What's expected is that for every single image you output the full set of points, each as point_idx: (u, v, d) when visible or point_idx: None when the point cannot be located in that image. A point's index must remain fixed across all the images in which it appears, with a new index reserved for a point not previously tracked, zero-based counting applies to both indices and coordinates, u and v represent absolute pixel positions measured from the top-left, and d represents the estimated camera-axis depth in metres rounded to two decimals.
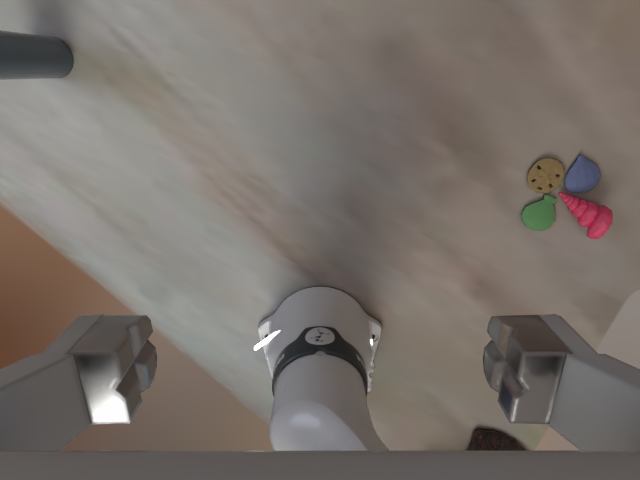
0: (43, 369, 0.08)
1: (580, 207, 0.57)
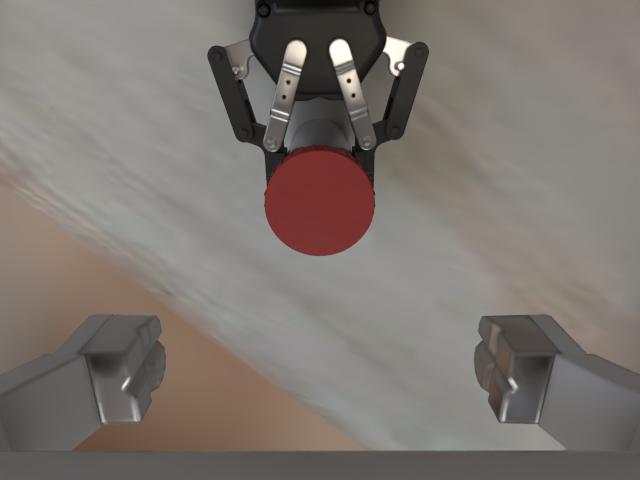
0: (55, 369, 0.08)
1: None
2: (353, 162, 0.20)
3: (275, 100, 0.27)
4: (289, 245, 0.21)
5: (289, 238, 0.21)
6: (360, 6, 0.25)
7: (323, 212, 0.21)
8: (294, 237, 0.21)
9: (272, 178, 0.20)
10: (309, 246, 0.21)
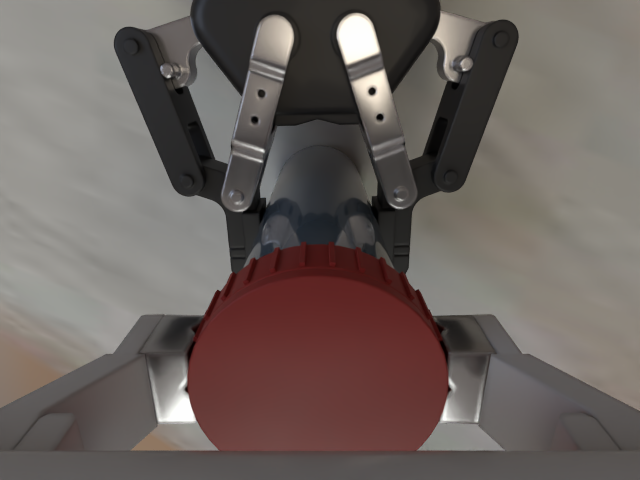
0: (119, 369, 0.08)
1: None
2: (401, 302, 0.08)
3: (239, 126, 0.15)
4: None
5: None
6: None
7: (326, 406, 0.09)
8: None
9: (202, 337, 0.08)
10: None
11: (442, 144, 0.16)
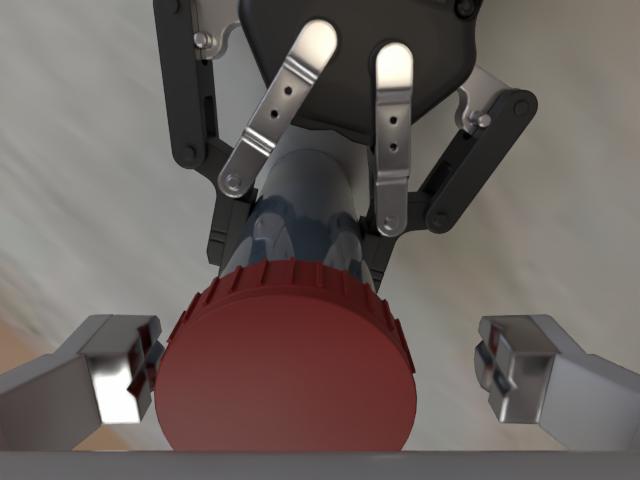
0: (55, 369, 0.08)
1: None
2: (241, 301, 0.08)
3: (257, 115, 0.15)
4: None
5: None
6: None
7: (304, 412, 0.09)
8: None
9: (174, 445, 0.09)
10: None
11: (441, 187, 0.16)
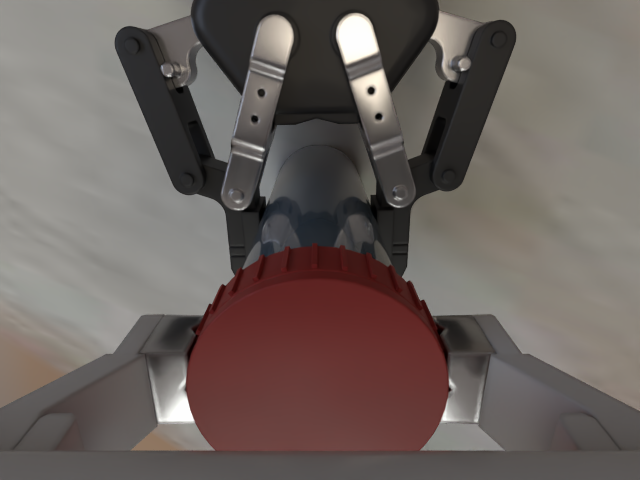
0: (119, 369, 0.08)
1: None
2: (241, 299, 0.08)
3: (239, 125, 0.15)
4: None
5: None
6: None
7: (336, 394, 0.09)
8: None
9: None
10: (402, 442, 0.09)
11: (440, 143, 0.16)
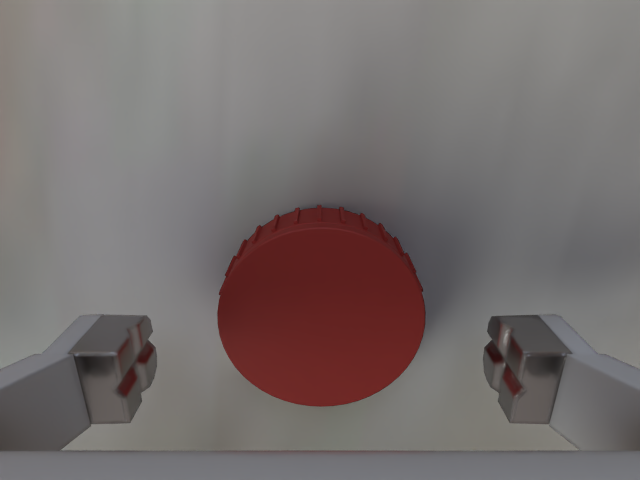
0: (43, 369, 0.08)
1: None
2: (262, 244, 0.10)
3: None
4: (372, 392, 0.12)
5: (359, 388, 0.12)
6: None
7: (336, 323, 0.11)
8: (361, 380, 0.12)
9: (246, 375, 0.12)
10: (389, 365, 0.11)
11: None
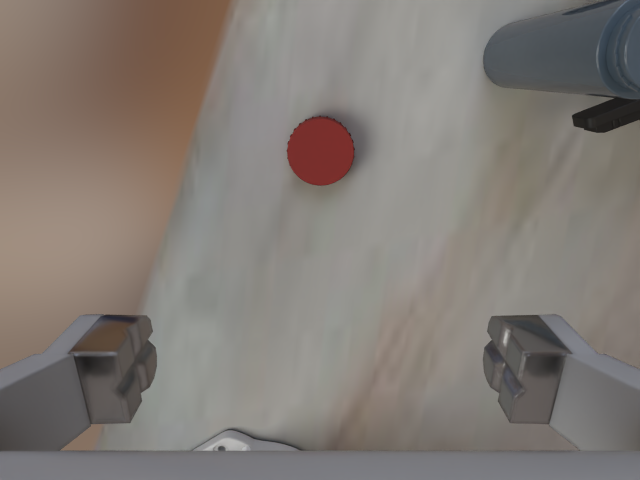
0: (43, 369, 0.08)
1: None
2: (302, 124, 0.33)
3: None
4: (337, 179, 0.35)
5: (333, 177, 0.35)
6: None
7: (325, 152, 0.34)
8: (334, 174, 0.35)
9: (295, 172, 0.35)
10: (342, 168, 0.34)
11: None
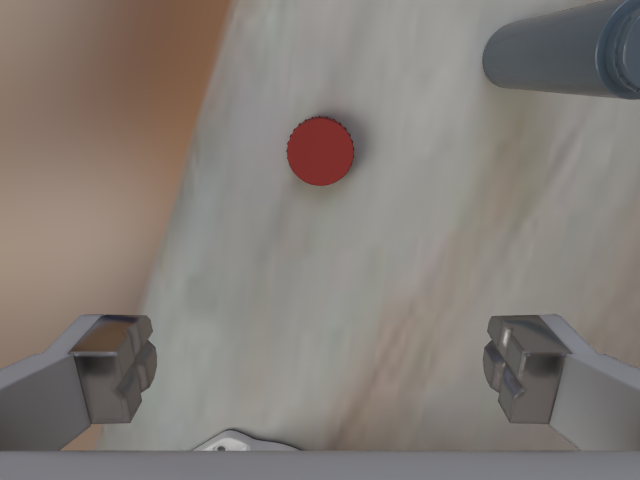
0: (43, 369, 0.08)
1: None
2: (302, 124, 0.33)
3: None
4: (337, 179, 0.35)
5: (333, 177, 0.35)
6: None
7: (325, 152, 0.34)
8: (333, 174, 0.35)
9: (295, 173, 0.35)
10: (342, 168, 0.34)
11: None
